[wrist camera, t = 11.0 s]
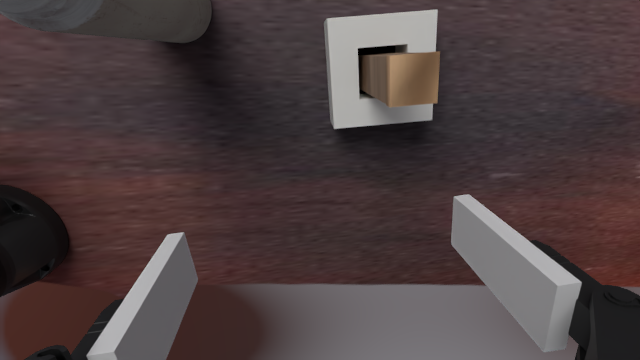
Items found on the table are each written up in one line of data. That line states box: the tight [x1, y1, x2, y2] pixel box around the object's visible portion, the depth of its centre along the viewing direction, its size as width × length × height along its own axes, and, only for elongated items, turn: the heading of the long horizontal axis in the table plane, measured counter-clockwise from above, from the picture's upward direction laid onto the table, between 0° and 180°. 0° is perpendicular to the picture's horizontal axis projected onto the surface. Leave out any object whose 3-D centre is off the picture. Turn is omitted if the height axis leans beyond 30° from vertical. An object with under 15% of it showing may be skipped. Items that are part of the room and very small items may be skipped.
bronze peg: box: [358, 52, 440, 107], centre depth 34 cm, size 4×4×16 cm
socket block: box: [324, 10, 438, 129], centre depth 39 cm, size 12×12×5 cm
